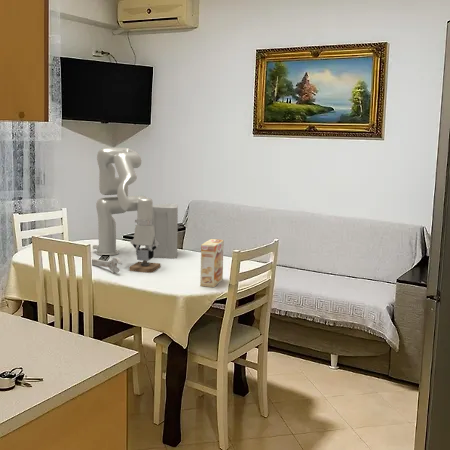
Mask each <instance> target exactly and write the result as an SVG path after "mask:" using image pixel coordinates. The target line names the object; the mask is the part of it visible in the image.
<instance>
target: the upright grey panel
mask: <svg viewBox="0 0 450 450" xmlns="http://www.w3.org/2000/svg"><path fill="white" fill-rule="evenodd" d="M178 207H179V204H178V203H173V202H171V203H164V204H163V203H162V204H160V203H159V204H153V225H154V230H155V239H156V240H157V241H158V242H159V244H160V245H159V246H158V247H157V248H155V249H154V256H153V258H154V259H168V260H169V259H171V260H172V259H173V260H174V259H177V258H178V217H179V216H178V214H179V213H178V211H179V209H178ZM155 245H156V244H153V246H155ZM144 248H149V246H144ZM153 258H152V259H153Z"/></svg>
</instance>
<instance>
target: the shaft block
mask: <svg viewBox="0 0 450 450" xmlns="http://www.w3.org/2000/svg"><path fill="white" fill-rule="evenodd" d="M143 248H144V249H143V250H147V249H146V248H145V247H143ZM128 267H129V268H128V271H129V272H138V273H139V272H140V273H149V274H151V273H154V272H155V271H157V270H158V269H160V268H161V263H159V262H148V261H145V260H142V261H137V262H135V263H134V264H132V265H130V266H128Z"/></svg>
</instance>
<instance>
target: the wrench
mask: <svg viewBox="0 0 450 450" xmlns="http://www.w3.org/2000/svg"><path fill="white" fill-rule="evenodd" d="M91 259H92V265H91V266H97V267H98V266H99V267H104V268H108V269H109V270H110V271H111V272H112V273H111V274H116V273H119V272H120V271H121V269H120V268H119V267H118V266H119V265H122V261H121V259H120V258H119V257H113V258H112V259H111V260H109V261H107V260H103V259H96V258H91Z"/></svg>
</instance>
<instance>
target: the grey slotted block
mask: <svg viewBox="0 0 450 450" xmlns="http://www.w3.org/2000/svg"><path fill="white" fill-rule="evenodd" d="M144 248H145V247H140V249H138V250H137V255H136V260H137V261H143V260H145V261H147V262H148V261H151V259H149V251H150V248H146V249H147V250H143V249H144Z"/></svg>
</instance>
